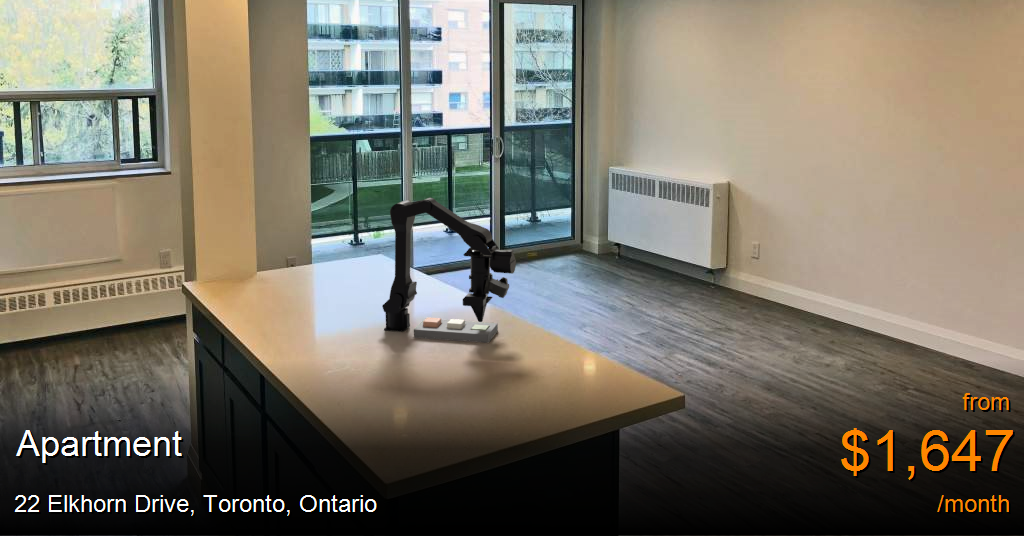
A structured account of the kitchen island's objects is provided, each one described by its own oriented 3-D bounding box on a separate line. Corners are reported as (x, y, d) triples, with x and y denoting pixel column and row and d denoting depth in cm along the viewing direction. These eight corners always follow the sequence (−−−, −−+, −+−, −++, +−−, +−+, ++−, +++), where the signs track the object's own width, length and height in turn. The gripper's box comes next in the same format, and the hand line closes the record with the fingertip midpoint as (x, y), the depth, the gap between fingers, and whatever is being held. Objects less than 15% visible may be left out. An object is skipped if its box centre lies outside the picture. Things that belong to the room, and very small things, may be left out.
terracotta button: (423, 329, 286) (423, 321, 286) (427, 325, 290) (427, 317, 290) (437, 330, 285) (437, 322, 285) (441, 326, 290) (441, 318, 289)
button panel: (413, 337, 283) (413, 329, 283) (425, 325, 295) (425, 318, 294) (488, 342, 279) (488, 334, 278) (497, 330, 290) (497, 323, 289)
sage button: (471, 336, 283) (471, 328, 283) (474, 332, 288) (474, 324, 287) (485, 337, 283) (485, 329, 282) (489, 333, 287) (489, 325, 286)
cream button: (447, 331, 285) (447, 323, 284) (451, 326, 289) (451, 318, 288) (461, 331, 284) (461, 324, 283) (465, 327, 288) (465, 319, 287)
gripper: (499, 280, 270) (499, 332, 274) (513, 265, 288) (513, 314, 291) (461, 278, 272) (462, 329, 276) (478, 263, 290) (478, 312, 294)
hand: (480, 321), depth 284 cm, fingers closed
